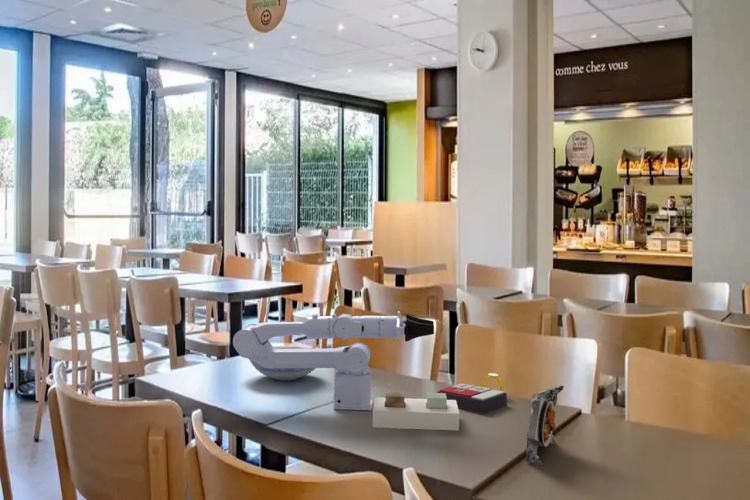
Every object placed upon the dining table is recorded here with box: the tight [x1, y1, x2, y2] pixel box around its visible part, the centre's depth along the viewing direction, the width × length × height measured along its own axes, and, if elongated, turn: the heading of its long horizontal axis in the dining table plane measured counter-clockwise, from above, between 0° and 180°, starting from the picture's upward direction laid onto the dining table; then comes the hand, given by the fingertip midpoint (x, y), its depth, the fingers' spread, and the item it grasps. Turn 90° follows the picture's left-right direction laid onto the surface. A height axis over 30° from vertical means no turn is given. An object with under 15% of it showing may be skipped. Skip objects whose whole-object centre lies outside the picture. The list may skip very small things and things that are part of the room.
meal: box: [525, 385, 565, 466], centre depth 142 cm, size 15×4×13 cm, turn 153°
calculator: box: [436, 383, 508, 415], centre depth 178 cm, size 11×4×15 cm
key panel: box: [372, 396, 460, 431], centre depth 161 cm, size 20×11×4 cm, turn 87°
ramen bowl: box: [249, 345, 317, 382], centre depth 200 cm, size 25×23×8 cm
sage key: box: [426, 392, 447, 409], centre depth 161 cm, size 4×4×4 cm
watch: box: [481, 372, 505, 392], centre depth 186 cm, size 6×3×6 cm, turn 53°
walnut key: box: [385, 391, 405, 408], centre depth 161 cm, size 4×4×4 cm
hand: (433, 327), depth 170 cm, fingers open, 7 cm apart
